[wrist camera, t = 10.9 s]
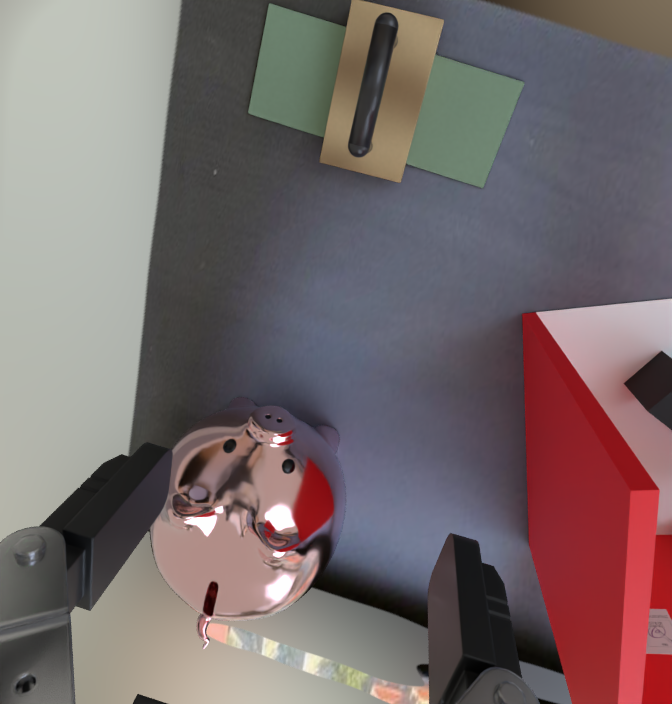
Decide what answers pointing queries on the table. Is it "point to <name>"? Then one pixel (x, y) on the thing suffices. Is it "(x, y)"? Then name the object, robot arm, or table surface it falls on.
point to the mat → (436, 111)
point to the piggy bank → (249, 512)
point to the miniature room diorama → (603, 493)
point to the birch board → (379, 89)
